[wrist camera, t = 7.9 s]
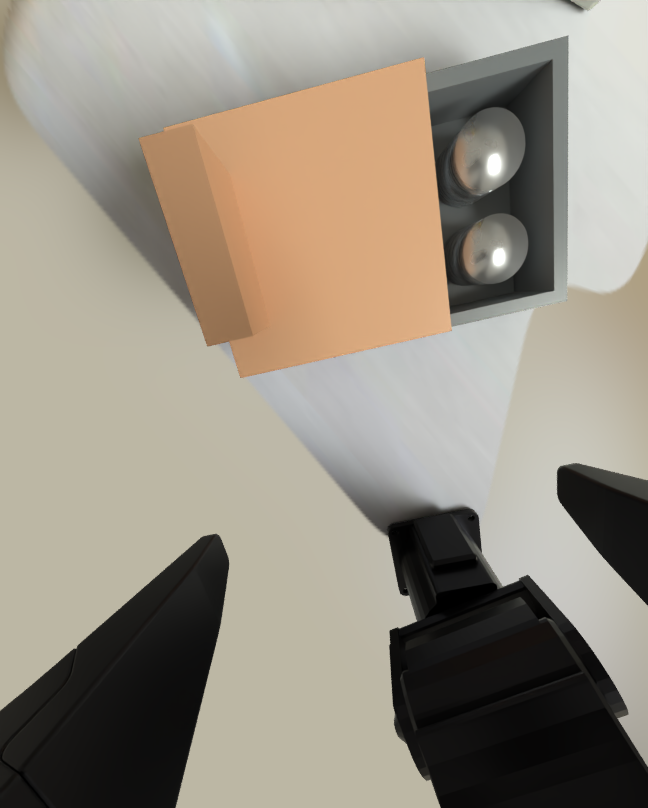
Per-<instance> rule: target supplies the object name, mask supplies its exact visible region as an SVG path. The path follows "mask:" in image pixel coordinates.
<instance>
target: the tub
mask: <svg viewBox="0 0 648 808" xmlns="http://www.w3.org/2000/svg"><path fill="white" fill-rule="evenodd" d="M426 81H427V91H428V101H429V110H430V120H431V130H432V140H433V150H434V160H435V163H436V161H437V159H438V157H439V155H440V154H441V153H442V151H443V150H444V149H445V148H446V147H447V145H448V144H449V143H450V142H451V141H452V140H453V138H454V137H455V136H456V135H457V134H458V132H459V131H460V130H461V129H462V128H463V126H464V125H465V124H466V123H467V122H468V121H469V119H470V118H472V117H473V116H474V115H475V114H477V113H478V112H480V111H482V110H484V109H487V108H492V107H499V108H504V109H507V110H509V111H510V112H512V113H513V114H514V115H515V116H516V117H517V118H518V119H519V121H520V122H521V124H522V127H523V130H524V133H525V152H524V156H523V159H522V162H521V164H520V166H519V168H518V170H517V171H516V173H515V174H514V175H513V177H512V178H511V179H510V180H509V181H507V182H506V183H505V184H503V185H502V186H500V187H499V188H497V189H495V190H494V191H492V192H490V193H489V194H487V195H486V196H484V197H482V198H481V199H479V200H478V201H476V202H474V203H473V204H471V205H469V206H466V207H462V208H455V207H450V206H448V205H446V204H445V203H443V202H442V201H441V200H440V199H439V198H438V199H439V209H440V219H441V229H442V239H443V248H444V246H445V244H446V242H447V241H448V239H449V238H450V237H451V236H452V235H453V234H454V233H455V232H457V231H459V230H461V229H463V228H465V227H467V226H469V225H471V224H473V223H475V222H477V221H479V220H481V219H483V218H485V217H488V216H490V215H493V214H498V213H504V214H509V215H512V216H514V217H515V218H517V219H518V220H519V221H520V222H521V223H522V224H523V226H524V227H525V229H526V232H527V236H528V251H527V255H526V258H525V260H524V262H523V264H522V266H521V267H520V268H519V270H518V271H517V272H516V273H515V274H514V275H513V276H511V277H510V278H508V279H507V280H505V281H503V282H500V283H495V284H484V285H472V286H460V285H457V284H454V283H453V282H451V281H450V280H449V279H448V278H447V277H446V278H447V288H448V298H449V308H450V318H451V327H453V326H457V325H462V324H466V323H470V322H475V321H479V320H484V319H488V318H493V317H497V316H502V315H506V314H511V313H515V312H519V311H524V310H528V309H533V308H537V307H541V306H546V305H551V304H555V303H559V302H564V301H567V228H568V36H565V37H561V38H557V39H554V40H550V41H546V42H543V43H539V44H535V45H531V46H528V47H524V48H520V49H516V50H513V51H509V52H505V53H502V54H498V55H494V56H490V57H487V58H483V59H479V60H475V61H472V62H468V63H464V64H461V65H457V66H453V67H449V68H446V69H442V70H438V71H434V72H431V73H427V74H426Z"/></svg>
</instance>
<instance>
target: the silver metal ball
mask: <svg viewBox="0 0 648 808" xmlns="http://www.w3.org/2000/svg"><path fill="white" fill-rule="evenodd" d="M524 152H525V133H524V130H523V127H522V124H521V122H520V121H519V119H518V118H517V117H516V116H515V115H514V114H513V113H512V112H510V111H509V110H507V109H504V108H499V107H492V108H487V109H484V110H482V111H480V112H478V113H477V114H475V115H474V116H473V117H472V118H470V119H469V121H468V122H467V123H466V124H465V125H464V126H463V128H462V129H461V130H460V131H459V132H458V134H457V135H456V136H455V137H454V138H453V140H452V141H451V142H450V143H449V144H448V145H447V147H446V148H445V149H444V150H443V151H442V153H441V154H440V155H439V157H438V159H437V161H436V163H435V170H436V180H437V189H438V198H439V199H440V200H441V201H442V202H443V203H445V204H446V205H448V206H450V207H455V208H462V207H466V206H469V205H471V204H473V203H474V202H476V201H478V200H479V199H481V198H482V197H484V196H486V195H487V194H489V193H490V192H492V191H494V190H495V189H497V188H499V187H500V186H502V185H503V184H505V183H506V182H507V181H509V180H510V179H511V178H512V177H513V175H514V174H515V173H516V171H517V170H518V168H519V166H520V164H521V162H522V159H523V156H524Z"/></svg>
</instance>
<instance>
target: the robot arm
mask: <svg viewBox="0 0 648 808" xmlns="http://www.w3.org/2000/svg"><path fill="white" fill-rule="evenodd" d="M557 495H558V499H559V501H560V503H561V504H562V506H563V507H564V508H565V509H566V511H567V512H568V513H569V515H570V516H571V517H572V518H573V520H574V521H575V522H576V524H577V525H578V526H579V528H580V529H581V530H582V531H583V533H584V534H585V535H586V537H587V538H588V539H589V540H590V542H591V543H592V544H593V546H594V547H595V548H596V549H597V551H598V552H599V553H600V554H601V555H602V557H603V558H604V559H605V560H606V561H607V562H608V563H609V565H610V566H611V567H612V568H613V569H614V570H615V571H616V572H617V573H618V574H619V575H620V576H621V577H622V579H623V580H624V581H625V582H626V583H627V584H628V585H629V586H630V587H631V588H632V589H633V590H634V591H635V592H636V593H637V595H638V596H639V597H640V598H641V599H642V600H643V601H644V602H645V603H646V604H647V605H648V480H643V479H639V478H635V477H631V476H627V475H623V474H619V473H615V472H611V471H607V470H603V469H599V468H595V467H591V466H586V465H582V464H577V463H573V464H569V465H564V466H560V467H559V468H558V470H557ZM471 515H472V517H470V518H468V517H469V516H471ZM394 530H397V531H396V532H393V531H394ZM387 531H388V536H389V541H390V546H391V552H392V556H393V561H394V567H395V572H396V577H397V582H398V587H399V591H400V594H402V595H405V596H408V595H409V596H410V599H411V603H412V606H413V609H414V613H415V616H416V619H417V622H415V623H412V624H410V625H407V626H405V627H402V628H400V629H399V628H398V627H397V628H395V629H392V630H390V643H391V644H390V646H389V648H390V664H391V680H392V696H393V707H394V711H395V718H394V726H395V730H396V732H397V735H398V737H399V738H400V739H401V740H403V741H404V742H405V743H406V744H407V746H408V748H409V750H410V753H411V756H412V758H413V760H414V762H415V764H416V767H417V769H418V771H419V772H420V774H421V775H422V777H423V778H424V779H425V780H431V781H432V784H433V787H434V790H435V793H436V796H437V799H438V801H439V804H440V807H441V808H648V767H647V765H646V764H645V762H644V760H643V759H642V757H641V756H640V754H639V753H638V751H637V749H636V748H635V746H634V744H633V743H632V741H631V740H630V738H629V736H628V735H627V733H626V732H625V730H624V728H623V727H622V725H621V724H620V722H619V721H618V719H617V718H620V717H623V716H626V715H628V710H627V707H626V705H625V703H624V701H623V699H622V697H621V695H620V694H619V692H618V690H617V688H616V686H615V685H614V683H613V681H612V680H611V678H610V677H609V675H608V674H607V672H606V671H605V669H604V667H603V666H602V664H601V663H600V661H599V660H598V658H597V657H596V655H595V654H594V652H593V651H592V650H591V648H590V647H589V645H588V644H587V643H586V641H585V640H584V638H583V637H582V636H581V635H580V633H579V632H578V631H577V629H576V628H575V627H574V626H573V625H572V624H571V622H570V621H569V620H568V619H567V618H566V617H565V615H564V614H563V613H562V612H561V611H560V610H559V609H558V608H557V607H556V605H555V604H554V603H553V602H552V601H551V600H550V599H549V598H548V596H547V595H546V594H545V593H544V592H543V591H542V590H541V589H540V588H539V586H538V585H536V583H535V582H534V581H533V580H532V579H531V578H530V576H528V575H526V576H524V577H521V578H519V581H517V582H514V583H512V584H509V585H507V586H504V587H503V586H502V584H501V583H500V581H499V580H498V578H497V576H496V575H495V573H494V572H493V570H492V569H491V567H490V565H489V564H488V562H487V561H486V559H485V558H484V556H483V555H482V549H481V538H480V527H479V517H478V515H477V513H476V512H475V511H474V510H472V509H467V510H462V511H457V512H452V513H446V514H441V515H436V516H431V517H426V518H420V519H415V520H410V521H405V522H400V523H395V524H391V525H390V526H389V527H388V528H387ZM228 570H229V559H228V556H227V553H226V550H225V548H224V545H223V543H222V540H221V538H220V536H219V535H217V534H213V535H207V536H203V537H201V538H200V539H199V540H198V541H197V542H196V543H195V544H193V545H192V546H191V547H190V548H189V549H188V550H186V551H185V552H184V553H183V554H182V555H181V556H180V557H178V558H177V559H176V560H175V561H174V562H173V563H172V564H171V565H169V566H168V567H167V568H166V569H165V570H164V571H163V572H161V573H160V574H159V575H158V576H157V577H155V579H153V580H152V581H151V582H150V583H149V584H147V585H146V586H145V587H144V588H143V589H142V590H141V591H140V592H138V593H137V594H136V595H135V596H134V597H133V598H132V599H130V600H129V601H128V602H127V603H126V604H125V605H123V606H122V607H121V608H120V609H119V610H118V611H117V612H116V613H114V614H113V615H112V616H111V617H110V618H109V619H107V620H106V621H105V622H104V623H103V624H102V625H100V626H99V627H98V628H97V629H96V630H95V631H94V632H92V634H90V635H89V636H88V637H87V638H86V639H84V640H83V641H82V642H81V643H80V644H79V645H78V646H77V649H73V650H72V651H70V652H69V653H68V654H67V655H66V656H65V657H64V658H63V659H61V660H60V661H59V662H58V663H57V664H56V665H55V666H53V667H52V668H51V669H50V670H49V671H48V672H46V673H45V674H44V675H43V676H42V677H40V678H39V679H38V680H37V681H36V682H35V683H33V684H32V685H31V686H30V687H29V688H28V689H26V690H25V691H24V692H23V693H22V694H20V695H19V696H18V697H16V698H15V699H14V700H13V701H12V702H10V703H9V704H8V705H7V706H6V707H4V708H3V709H2V710H1V711H0V808H175V807H176V804H177V800H178V796H179V792H180V788H181V783H182V779H183V775H184V771H185V767H186V763H187V759H188V755H189V751H190V747H191V743H192V739H193V735H194V731H195V727H196V723H197V719H198V714H199V711H200V706H201V703H202V698H203V694H204V690H205V686H206V682H207V678H208V674H209V670H210V666H211V662H212V658H213V654H214V650H215V646H216V642H217V638H218V634H219V629H220V624H221V618H222V612H223V605H224V598H225V591H226V584H227V577H228ZM405 588H407V589H405Z"/></svg>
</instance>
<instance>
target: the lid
mask: <svg viewBox="0 0 648 808" xmlns="http://www.w3.org/2000/svg"><path fill="white" fill-rule="evenodd" d="M163 129H164V132H160V133H156V134H152V135H149V136H145V137H141V138H139V141H140V144H141V147H142V150H143V153H144V156H145V159H146V162H147V165H148V168H149V171H150V174H151V178H152V181H153V184H154V187H155V190H156V193H157V196H158V199H159V202H160V205H161V208H162V211H163V214H164V217H165V220H166V223H167V226H168V229H169V232H170V235H171V238H172V241H173V244H174V247H175V250H176V253H177V256H178V259H179V262H180V265H181V268H182V271H183V274H184V277H185V280H186V283H187V286H188V289H189V292H190V295H191V298H192V301H193V305H194V308H195V311H196V314H197V317H198V320H199V323H200V326H201V329H202V332H203V335H204V338H205V341H206V344H207V346H212V345H216V344H220V343H225V342H230V346H231V349H232V352H233V355H234V359H235V362H236V365H237V368H238V371H239V375H240V378H243V377H247V376H252V375H256V374H261V373H265V372H270V371H274V370H279V369H283V368H288V367H292V366H297V365H301V364H306V363H310V362H315V361H319V360H323V359H328V358H332V357H337V356H341V355H346V354H350V353H355V352H359V351H364V350H368V349H373V348H377V347H382V346H386V345H390V344H395V343H399V342H404V341H408V340H413V339H417V338H422V337H426V336H431V335H435V334H440V333H444V332H449V331H452V328H451V318H450V308H449V298H448V288H447V278H446V268H445V258H444V249H443V239H442V229H441V219H440V209H439V199H438V189H437V180H436V170H435V160H434V150H433V140H432V130H431V120H430V110H429V101H428V91H427V81H426V71H425V61H424V57H423V58H419V59H416V60H412V61H408V62H404V63H401V64H397V65H393V66H390V67H386V68H382V69H379V70H375V71H371V72H368V73H364V74H360V75H357V76H353V77H349V78H345V79H342V80H338V81H334V82H331V83H327V84H323V85H320V86H316V87H312V88H309V89H305V90H301V91H298V92H294V93H290V94H286V95H283V96H279V97H275V98H272V99H268V100H264V101H261V102H257V103H253V104H250V105H246V106H242V107H239V108H235V109H231V110H227V111H224V112H220V113H216V114H213V115H209V116H205V117H202V118H198V119H194V120H191V121H187V122H183V123H180V124H176V125H172V126H168V127H165V128H163Z"/></svg>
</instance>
